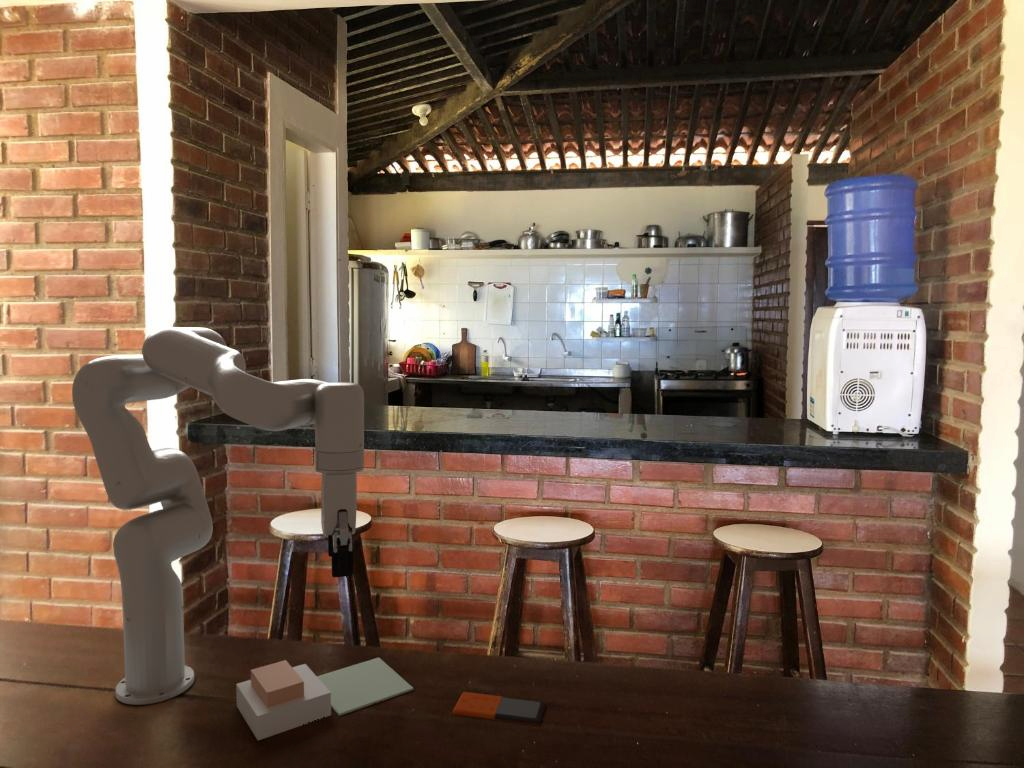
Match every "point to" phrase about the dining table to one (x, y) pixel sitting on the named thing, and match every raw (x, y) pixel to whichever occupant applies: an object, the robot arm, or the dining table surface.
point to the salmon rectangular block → (277, 683)
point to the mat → (363, 685)
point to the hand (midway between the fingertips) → (340, 565)
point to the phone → (500, 708)
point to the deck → (284, 706)
